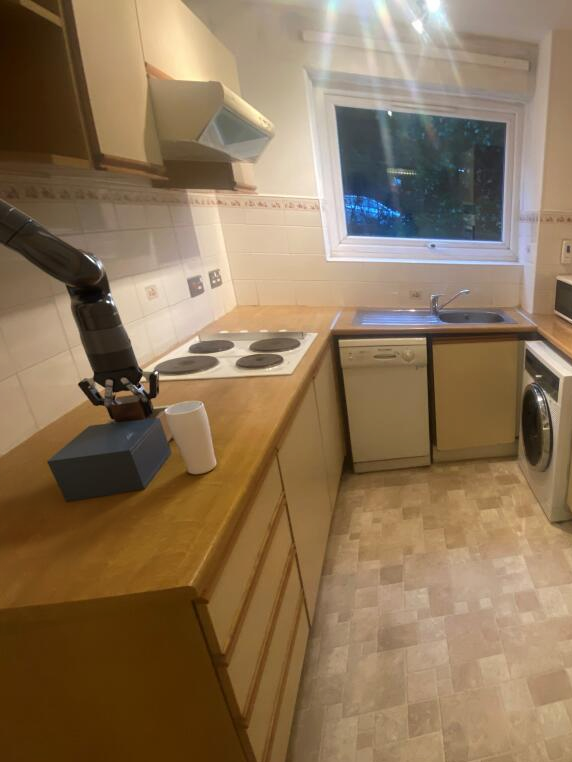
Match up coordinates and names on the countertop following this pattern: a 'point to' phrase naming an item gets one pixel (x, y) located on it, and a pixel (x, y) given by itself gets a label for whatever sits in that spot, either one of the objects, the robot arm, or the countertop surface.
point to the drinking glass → (192, 435)
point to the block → (127, 409)
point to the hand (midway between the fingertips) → (134, 417)
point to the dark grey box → (110, 459)
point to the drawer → (157, 414)
